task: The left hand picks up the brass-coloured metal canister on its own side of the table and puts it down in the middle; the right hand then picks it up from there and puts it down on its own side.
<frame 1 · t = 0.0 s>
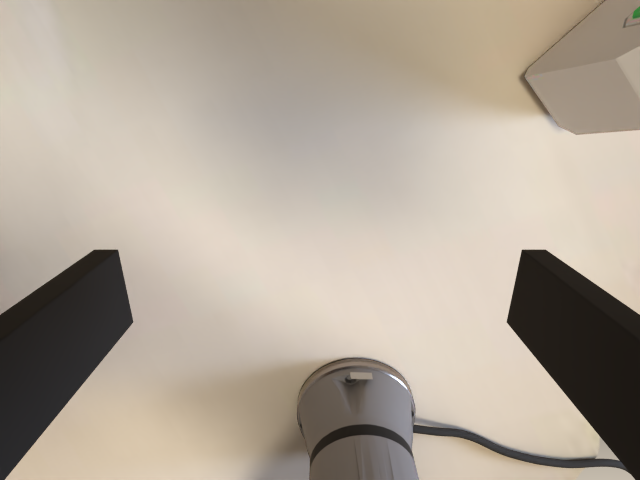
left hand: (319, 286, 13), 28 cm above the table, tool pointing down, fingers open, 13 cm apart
electronic device: (593, 56, 35), on the table
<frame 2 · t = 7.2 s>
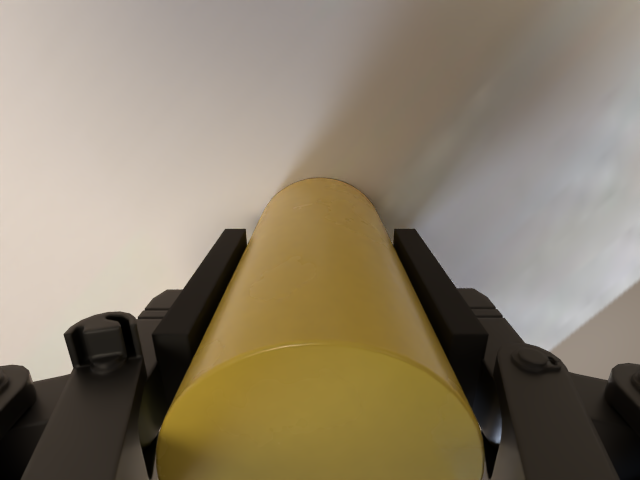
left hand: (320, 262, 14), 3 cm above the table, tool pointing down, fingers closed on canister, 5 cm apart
canister: (320, 239, 17), on the table, touching left hand
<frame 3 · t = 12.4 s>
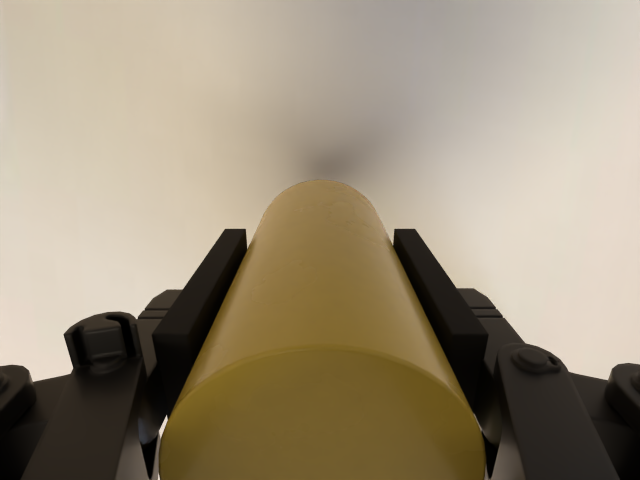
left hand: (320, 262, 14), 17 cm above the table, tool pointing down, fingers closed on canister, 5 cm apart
canister: (320, 240, 17), point 14 cm above the table, touching left hand
when the left hand's fingers open (3 cm above the table, at t = 17.9 s): canister stays where it is, on the table.
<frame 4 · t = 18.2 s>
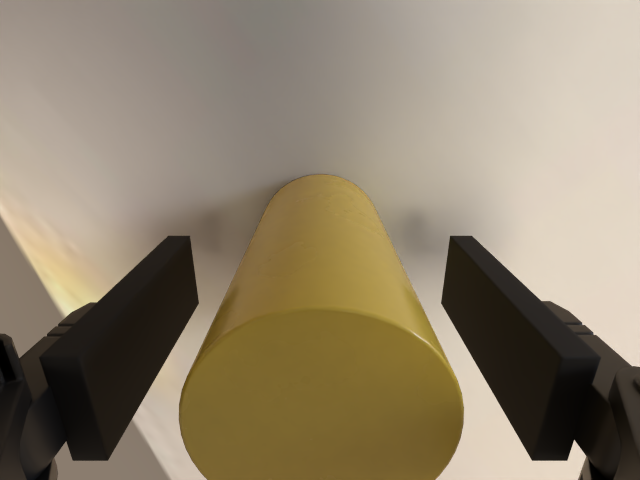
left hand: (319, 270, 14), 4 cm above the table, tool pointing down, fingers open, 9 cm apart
canister: (320, 232, 18), on the table
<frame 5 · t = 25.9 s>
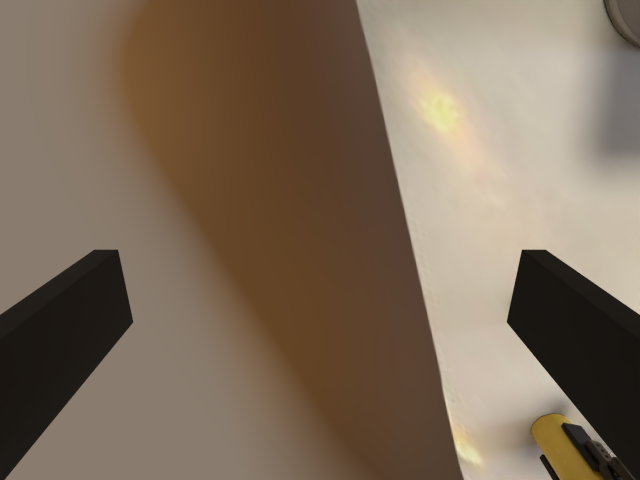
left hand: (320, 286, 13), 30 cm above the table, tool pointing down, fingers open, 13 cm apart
canister: (550, 427, 55), on the table, touching right hand
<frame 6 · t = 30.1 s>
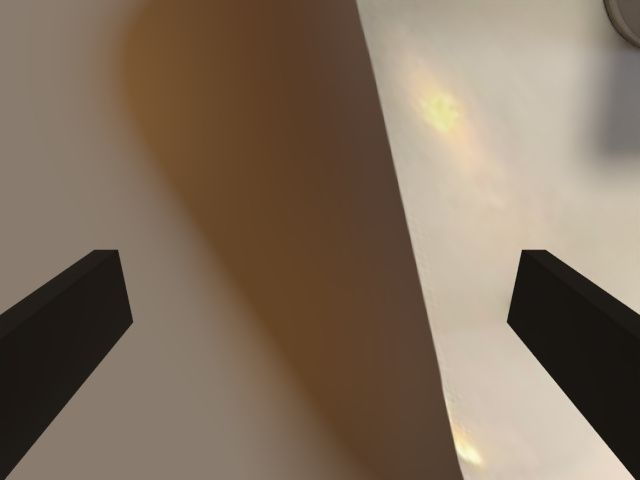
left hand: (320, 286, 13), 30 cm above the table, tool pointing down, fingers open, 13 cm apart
when the right hand's fingers open (3 cm above the table, at t = 34.5 s): canister stays where it is, on the table.
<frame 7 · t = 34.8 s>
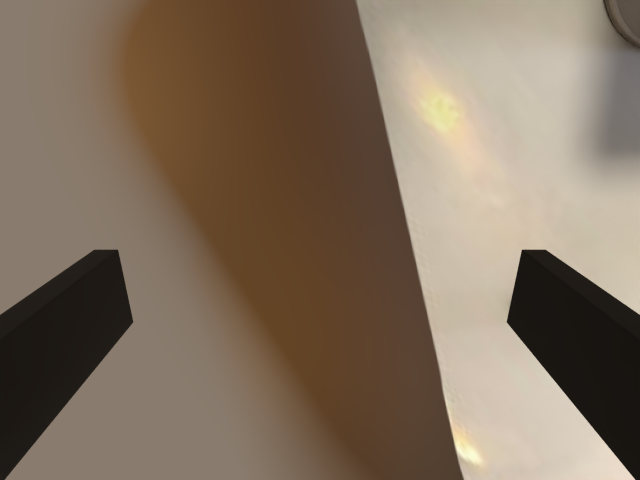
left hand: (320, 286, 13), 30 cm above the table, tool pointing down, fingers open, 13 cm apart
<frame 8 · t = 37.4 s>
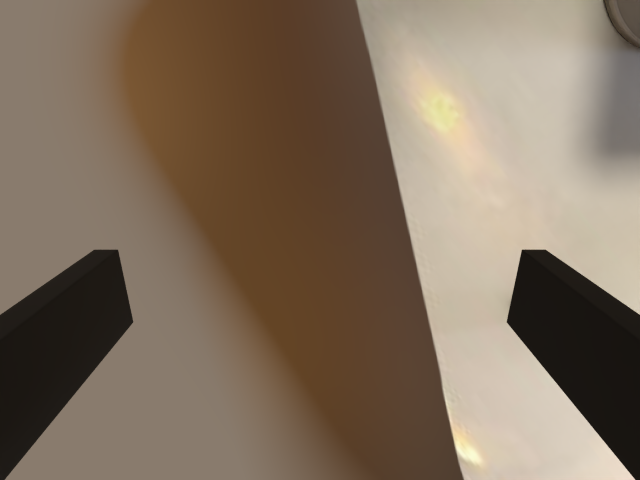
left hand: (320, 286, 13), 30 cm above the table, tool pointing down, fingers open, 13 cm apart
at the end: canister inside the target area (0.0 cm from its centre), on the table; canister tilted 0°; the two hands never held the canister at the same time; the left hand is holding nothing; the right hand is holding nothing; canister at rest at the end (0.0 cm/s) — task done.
